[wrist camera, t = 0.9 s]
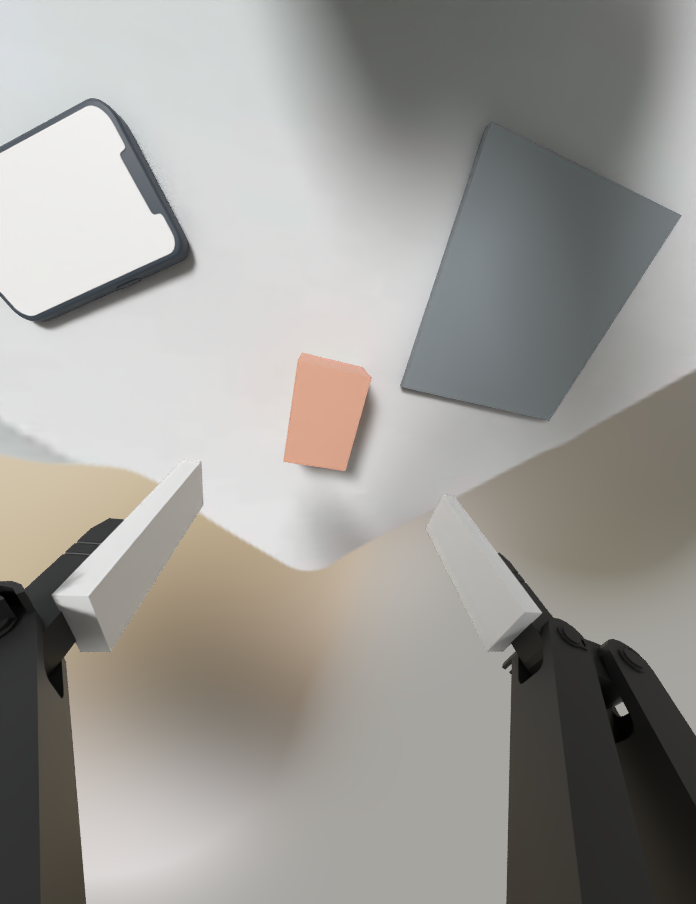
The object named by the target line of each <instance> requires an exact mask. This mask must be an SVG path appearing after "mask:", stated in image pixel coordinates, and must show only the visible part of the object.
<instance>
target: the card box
mask: <svg viewBox="0 0 696 904" xmlns="http://www.w3.org/2000/svg"><path fill="white" fill-rule="evenodd" d="M371 378H372V377H371V376H370V375H369V374H368V373H367V372H366V371H365V370H364V368H363V367H359V366H355V365H351V364H347V363H343V362H339V361H334V360H330V359H326V358H322V357H318V356H314V355H310V354H306V353H302V354H301V355H300V357H299V359H298V363H297V370H296V377H295V384H294V391H293V398H292V405H291V412H290V419H289V426H288V433H287V441H286V448H285V455H284V462H288V463H295V464H302V465H308V466H315V467H321V468H328V469H334V470H341V471H346V468H347V464H348V460H349V457H350V453H351V450H352V446H353V443H354V439H355V435H356V432H357V428H358V425H359V421H360V417H361V414H362V410H363V407H364V403H365V399H366V396H367V392H368V389H369V385H370V382H371Z"/></svg>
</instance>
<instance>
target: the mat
mask: <svg viewBox="0 0 696 904" xmlns="http://www.w3.org/2000/svg"><path fill="white" fill-rule="evenodd" d="M680 217H681V215H680V214H678V213H676V212H674V211H672V210H670V209H667V208H665V207H663V206H661V205H659V204H657V203H655V202H653V201H651V200H649V199H647V198H645V197H643V196H641V195H639V194H637V193H635V192H633V191H631V190H629V189H627V188H625V187H623V186H621V185H619V184H617V183H615V182H613V181H611V180H609V179H607V178H605V177H603V176H601V175H599V174H596V173H594V172H592V171H590V170H588V169H586V168H584V167H582V166H580V165H578V164H576V163H574V162H572V161H570V160H568V159H566V158H564V157H562V156H560V155H558V154H556V153H554V152H552V151H550V150H548V149H546V148H544V147H542V146H540V145H538V144H536V143H534V142H532V141H530V140H528V139H526V138H523V137H521V136H519V135H517V134H515V133H513V132H511V131H509V130H507V129H505V128H503V127H501V126H499V125H497V124H495V123H493V122H491V123H490V124H489V125H488V126H487V128H486V129H485V131H484V134H483V137H482V140H481V143H480V146H479V149H478V152H477V155H476V158H475V161H474V164H473V168H472V171H471V174H470V177H469V180H468V183H467V186H466V189H465V192H464V195H463V198H462V201H461V204H460V207H459V210H458V213H457V216H456V219H455V222H454V225H453V228H452V231H451V234H450V237H449V240H448V243H447V246H446V249H445V252H444V255H443V258H442V261H441V264H440V267H439V270H438V273H437V276H436V279H435V282H434V285H433V288H432V291H431V295H430V298H429V301H428V304H427V307H426V310H425V313H424V316H423V319H422V322H421V325H420V328H419V331H418V334H417V337H416V340H415V343H414V346H413V349H412V352H411V355H410V358H409V361H408V364H407V367H406V370H405V373H404V376H403V379H402V382H401V385H400V386H401V387H403V388H407V389H412V390H416V391H421V392H425V393H429V394H434V395H438V396H443V397H447V398H451V399H456V400H460V401H465V402H469V403H473V404H478V405H482V406H487V407H491V408H495V409H500V410H504V411H509V412H513V413H517V414H522V415H526V416H531V417H535V418H539V419H544V420H548V421H549V420H550V418H551V417H552V415H553V414H554V412H555V411H556V409H557V408H558V406H559V405H560V403H561V401H562V400H563V398H564V397H565V395H566V394H567V392H568V391H569V389H570V387H571V386H572V384H573V383H574V381H575V380H576V378H577V377H578V375H579V374H580V372H581V370H582V369H583V367H584V366H585V364H586V363H587V361H588V360H589V358H590V356H591V355H592V353H593V352H594V350H595V349H596V347H597V346H598V344H599V343H600V341H601V339H602V338H603V336H604V335H605V333H606V332H607V330H608V329H609V327H610V326H611V324H612V322H613V321H614V319H615V318H616V316H617V315H618V313H619V312H620V310H621V308H622V307H623V305H624V304H625V302H626V301H627V299H628V298H629V296H630V295H631V293H632V291H633V290H634V288H635V287H636V285H637V284H638V282H639V281H640V279H641V277H642V276H643V274H644V273H645V271H646V270H647V268H648V267H649V265H650V264H651V262H652V260H653V259H654V257H655V256H656V254H657V253H658V251H659V250H660V248H661V246H662V245H663V243H664V242H665V240H666V239H667V237H668V236H669V234H670V233H671V231H672V229H673V228H674V226H675V225H676V223H677V222H678V220H679V219H680Z"/></svg>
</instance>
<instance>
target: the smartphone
mask: <svg viewBox="0 0 696 904" xmlns="http://www.w3.org/2000/svg"><path fill="white" fill-rule="evenodd" d="M187 254H188V242H187V239H186V237H185V235H184V233H183V231H182V229H181V227H180V225H179V223H178V221H177V219H176V217H175V216H174V214H173V212H172V210H171V208H170V206H169V204H168V202H167V200H166V198H165V196H164V194H163V192H162V191H161V189H160V187H159V185H158V183H157V181H156V179H155V177H154V175H153V173H152V171H151V169H150V168H149V166H148V164H147V162H146V160H145V158H144V156H143V154H142V152H141V150H140V148H139V146H138V145H137V143H136V141H135V139H134V137H133V135H132V133H131V131H130V129H129V128H128V126H127V124H126V123H125V122H124V120H123V119H122V118H121V117H120V116H119V115H118V114H117V113H116V112H115V111H114V110H113V109H112V108H111V107H110V106H109V105H107V104H106V103H104V102H103V101H101V100H99V99H95V98H90V99H87V100H85V101H83V102H82V103H80V104H78V105H76V106H74V107H72V108H70V109H69V110H67V111H65V112H63V113H61V114H59V115H58V116H56V117H54V118H52V119H50V120H48V121H47V122H45V123H43V124H41V125H39V126H37V127H36V128H34V129H32V130H30V131H28V132H26V133H25V134H23V135H21V136H19V137H17V138H15V139H13V140H12V141H10V142H8V143H6V144H4V145H2V146H1V147H0V296H1V298H2V299H3V300H4V301H5V302H6V303H7V304H8V305H9V306H10V308H11V309H12V310H13V311H14V312H15V313H17V314H18V315H19V316H21V317H23V318H25V319H27V320H30V321H48V320H51V319H53V318H55V317H58V316H60V315H62V314H64V313H67V312H69V311H71V310H74V309H76V308H78V307H80V306H83V305H85V304H87V303H89V302H92V301H94V300H96V299H98V298H101V297H103V296H105V295H107V294H110V293H112V292H114V291H116V290H118V289H123V288H125V287H127V286H129V285H132V284H134V283H136V282H138V281H140V280H141V279H143V278H145V277H147V276H150V275H152V274H154V273H156V272H158V271H161V270H163V269H165V268H167V267H170V266H172V265H174V264H176V263H178V262H181V261H182V260H184V259H185V258H186V256H187Z"/></svg>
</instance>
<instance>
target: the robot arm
mask: <svg viewBox="0 0 696 904" xmlns="http://www.w3.org/2000/svg"><path fill="white" fill-rule="evenodd" d="M202 506H203V487H202V464H201V461H197V460H190V459H183V460H182V461H181V462H180V463H179V464H178V465H177V466H176V467H175V469H174V470H173V471H172V472H171V473H170V474H169V475H168V476H167V477H166V478H165V479H164V480H163V481H162V482H161V483H160V484H159V485H158V486H157V487H156V488H155V489H154V490H153V491H152V492H151V493H150V494H149V495H148V496H147V497H146V498H145V499H144V500H143V501H142V502H141V503H140V504H139V505H138V507H137V508H136V509H135V510H134V511H133V512H132V513H131V514H130V515H129V516H128V517H127V518H126V519H125V520H123V519H111V518H109V519H107V520H105V521H104V522H102V523H100V524H98V525H96V526H95V527H93V528H91V529H90V530H89V531H88V532H87V533H86V534H84V535H83V536H82V537H81V538H80V539H79V540H78V541H77V543H76V544H74V545H72V546H71V547H70V548H69V549H68V550H67V551H66V553H65V554H64V555H62V556H60V557H59V558H58V559H57V560H56V561H55V562H54V563H53V564H52V565H51V566H50V567H49V568H47V569H46V570H45V571H44V572H43V573H42V574H41V575H40V576H39V577H38V578H36V579H35V580H34V581H33V582H32V583H31V584H30V585H29V586H28V587H27V588H25V589H24V588H23V587H22V585H21V584H18V583H16V582H13V581H2V582H0V904H86V897H85V885H84V874H83V863H82V862H83V861H82V849H81V837H80V826H79V814H78V801H77V789H76V779H75V778H76V777H75V766H74V754H73V741H72V729H71V717H70V706H69V693H68V681H67V670H66V661H65V659H64V656H65V655H66V654H67V652H68V651H69V650H70V648H71V647H72V646H73V644H74V643H75V642H76V644H77V646H78V648H79V650H80V652H111V650H112V649H113V647H114V646H115V644H116V643H117V641H118V639H119V638H120V636H121V635H122V633H123V631H124V630H125V628H126V627H127V625H128V624H129V622H130V620H131V619H132V617H133V616H134V614H135V612H136V611H137V609H138V608H139V606H140V604H141V603H142V601H143V599H144V598H145V597H146V595H147V593H148V592H149V590H150V589H151V587H152V585H153V584H154V582H155V581H156V579H157V577H158V576H159V574H160V573H161V571H162V570H163V568H164V566H165V565H166V563H167V561H168V560H169V558H170V557H171V555H172V553H173V552H174V550H175V549H176V547H177V546H178V544H179V543H180V541H181V539H182V538H183V536H184V535H185V533H186V531H187V530H188V528H189V527H190V525H191V523H192V522H193V520H194V519H195V517H196V515H197V514H198V512H199V511H200V509H201V508H202ZM426 530H427V533H428V535H429V536H430V538H431V541H432V542H433V545H434V546H435V549H436V550H437V553H438V554H439V557H440V559H441V561H442V563H443V565H444V567H445V568H446V571H447V573H448V574H449V577H450V578H451V581H452V582H453V585H454V587H455V589H456V591H457V593H458V595H459V597H460V598H461V600H462V603H463V605H464V607H465V609H466V611H467V613H468V614H469V616H470V619H471V620H472V623H473V625H474V627H475V629H476V630H477V632H478V635H479V636H480V638H481V641H482V643H483V644H484V646H485V648H486V650H487V651H504V650H505V649H506V648H507V647H508V646H509V645H510V644H512V645H513V647H514V649H515V651H516V652H515V653H514V654H513V655H511V656H510V657H509V658H508V659H507V660H506V661H505V662H504V664H503V667H502V668H504V669H506V668H507V667H508V666H509V665H511V664H512V670H511V671H510V674H512V681H511V683H512V684H511V726H510V770H509V814H508V816H509V817H508V818H509V819H508V858H507V860H508V861H507V902H506V904H696V736H695V734H694V733H693V731H692V730H691V728H690V727H689V725H688V724H687V722H686V721H685V719H684V717H683V716H682V714H681V713H680V711H679V710H678V708H677V707H676V705H675V704H674V702H673V701H672V699H671V697H670V696H669V694H668V693H667V691H666V690H665V688H664V687H663V685H662V684H661V682H660V681H659V679H658V677H657V676H656V675H655V673H654V671H653V670H652V669H651V667H650V666H649V665H648V663H647V662H646V661H645V660H644V659H643V658H642V657H641V656H640V655H639V654H638V653H637V652H636V651H634V650H633V649H632V648H630V647H629V646H627V645H625V644H624V643H622V642H620V641H618V640H614V639H610V640H608V641H606V642H605V643H604V644H602V645H599V644H597V643H594V642H591V641H589V640H586V639H584V638H583V636H582V635H581V634H580V633H579V632H578V631H577V630H576V629H575V628H573V627H572V626H571V625H569V624H568V623H567V622H565V621H563V620H561V619H557V618H553V617H552V615H551V614H550V613H549V612H548V610H547V609H546V608H545V607H544V605H543V604H542V603H541V601H540V600H539V599H538V597H537V596H536V595H535V594H534V592H533V591H532V590H531V588H530V587H529V586H528V585H527V584H526V583H525V581H524V579H523V578H522V577H521V576H520V575H519V574H518V572H517V571H516V569H515V568H514V567H513V565H512V564H511V563H510V562H509V561H508V560H507V559H506V558H505V557H504V556H503V555H501V554H500V553H497V552H496V551H495V549H494V548H493V547H492V546H491V544H490V543H489V541H488V540H487V539H486V537H485V536H484V535H483V534H482V532H481V531H480V530H479V528H478V527H477V526H476V524H475V523H474V522H473V520H472V519H471V518H470V516H469V515H468V514H467V512H466V511H465V510H464V508H463V507H462V506H461V504H460V503H459V502H458V500H457V499H456V498H455V496H451V495H444V494H443V495H442V497H441V499H440V501H439V503H438V505H437V507H436V509H435V510H434V512H433V515H432V516H431V518H430V520H429V523H428V524H427V526H426ZM621 702H624V704H625V706H626V708H627V710H628V712H629V713H628V714H626V715H625V716H622V717H621V716H620V715H619V714H618V712H617V710H616V708H615V706H616V705H618V704H620V703H621Z"/></svg>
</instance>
